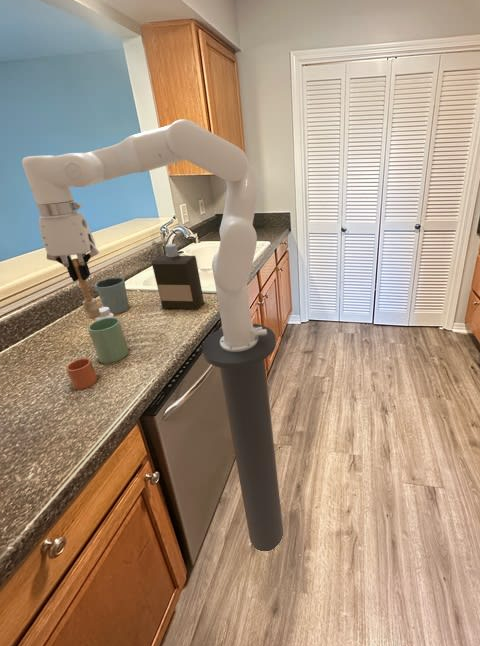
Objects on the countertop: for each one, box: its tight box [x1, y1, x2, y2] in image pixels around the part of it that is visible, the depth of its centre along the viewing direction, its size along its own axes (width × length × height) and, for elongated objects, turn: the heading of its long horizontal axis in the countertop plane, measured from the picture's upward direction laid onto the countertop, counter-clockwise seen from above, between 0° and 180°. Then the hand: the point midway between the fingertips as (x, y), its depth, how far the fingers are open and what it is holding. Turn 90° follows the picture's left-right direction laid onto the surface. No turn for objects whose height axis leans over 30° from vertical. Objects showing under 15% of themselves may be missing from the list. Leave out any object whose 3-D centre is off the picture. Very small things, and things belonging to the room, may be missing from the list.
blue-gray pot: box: [94, 276, 130, 315], centre depth 127 cm, size 10×10×12 cm
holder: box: [65, 357, 98, 390], centre depth 87 cm, size 6×6×6 cm
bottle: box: [150, 243, 205, 310], centre depth 125 cm, size 8×16×25 cm, turn 82°
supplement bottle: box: [95, 306, 115, 321], centre depth 109 cm, size 5×5×10 cm
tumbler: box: [87, 316, 130, 364], centre depth 97 cm, size 8×8×11 cm
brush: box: [71, 257, 101, 320], centre depth 88 cm, size 3×3×17 cm
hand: (81, 278), depth 87 cm, fingers closed on brush
